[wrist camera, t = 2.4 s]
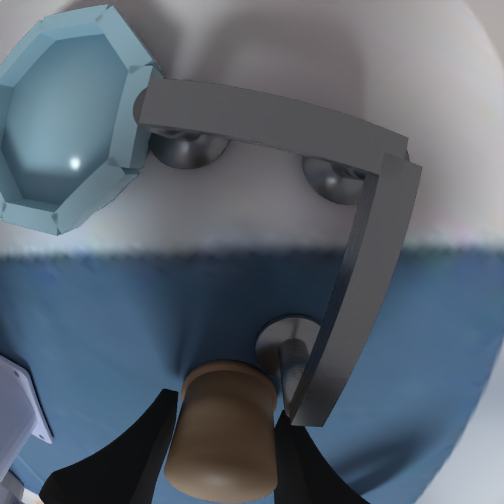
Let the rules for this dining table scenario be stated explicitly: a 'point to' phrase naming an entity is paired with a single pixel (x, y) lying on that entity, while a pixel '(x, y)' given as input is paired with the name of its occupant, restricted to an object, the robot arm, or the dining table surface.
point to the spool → (225, 434)
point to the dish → (71, 118)
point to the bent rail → (325, 184)
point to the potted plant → (13, 485)
